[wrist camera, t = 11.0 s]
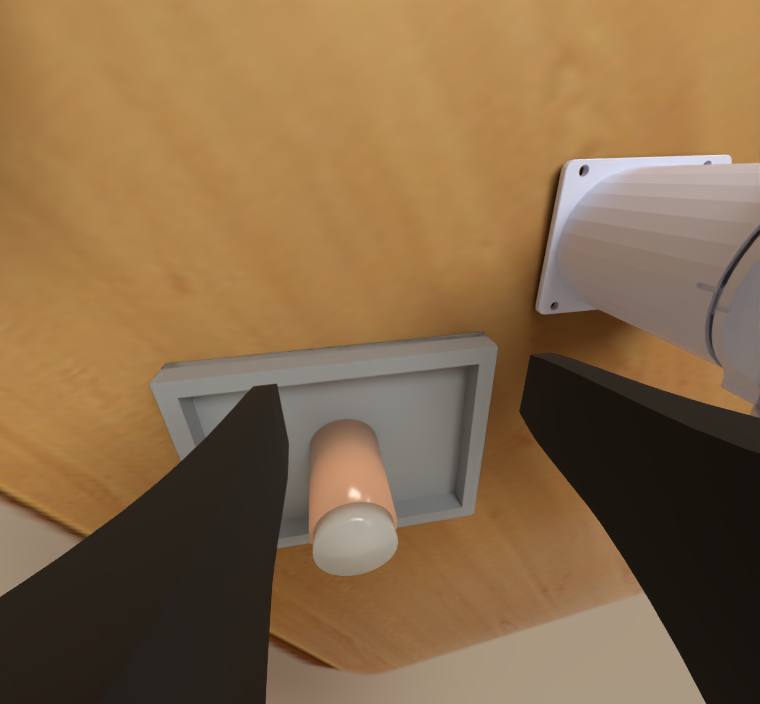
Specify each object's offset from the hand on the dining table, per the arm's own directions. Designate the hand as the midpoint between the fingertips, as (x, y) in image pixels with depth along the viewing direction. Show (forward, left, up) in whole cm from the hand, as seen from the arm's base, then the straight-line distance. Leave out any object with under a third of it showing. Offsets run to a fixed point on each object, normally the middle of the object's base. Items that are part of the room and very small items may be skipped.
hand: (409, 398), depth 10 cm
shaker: (+2, +10, -9) cm, 14 cm away
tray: (+2, +10, -10) cm, 14 cm away
